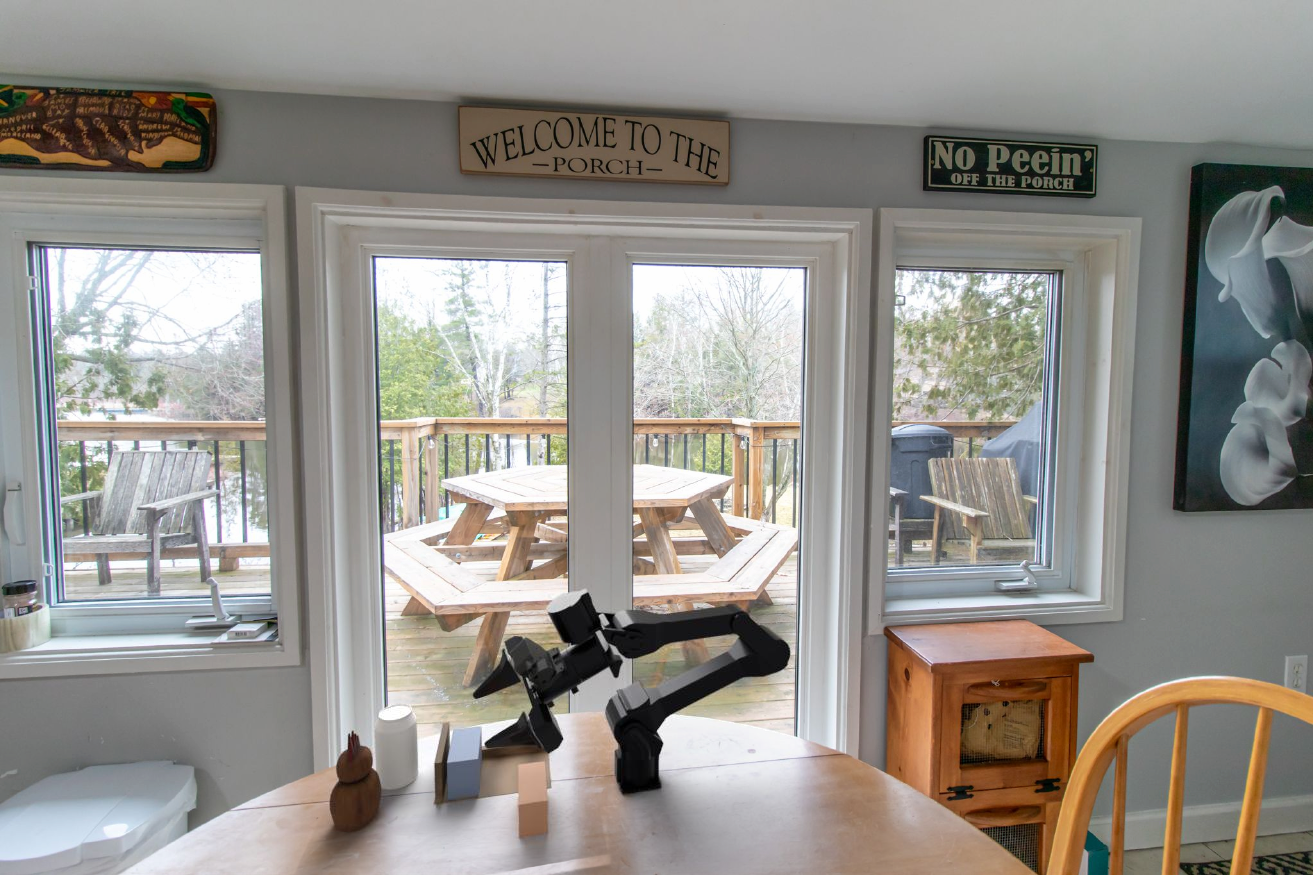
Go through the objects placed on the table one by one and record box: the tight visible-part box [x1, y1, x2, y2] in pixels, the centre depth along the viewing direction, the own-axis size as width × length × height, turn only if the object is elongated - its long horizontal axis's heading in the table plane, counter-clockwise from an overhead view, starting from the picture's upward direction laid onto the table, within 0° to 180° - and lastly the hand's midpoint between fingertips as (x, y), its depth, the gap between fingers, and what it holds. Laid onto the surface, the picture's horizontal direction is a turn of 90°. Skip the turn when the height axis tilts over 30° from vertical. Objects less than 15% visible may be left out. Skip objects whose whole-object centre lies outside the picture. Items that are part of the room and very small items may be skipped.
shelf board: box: [433, 721, 552, 806], centre depth 98 cm, size 18×11×8 cm, turn 103°
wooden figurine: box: [329, 730, 382, 833], centre depth 87 cm, size 7×6×15 cm
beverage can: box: [373, 703, 419, 791], centre depth 96 cm, size 6×6×12 cm
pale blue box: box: [447, 725, 483, 800], centre depth 96 cm, size 4×9×6 cm, turn 13°
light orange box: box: [517, 761, 549, 838], centre depth 89 cm, size 4×9×6 cm, turn 13°
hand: (479, 720), depth 89 cm, fingers open, 9 cm apart
